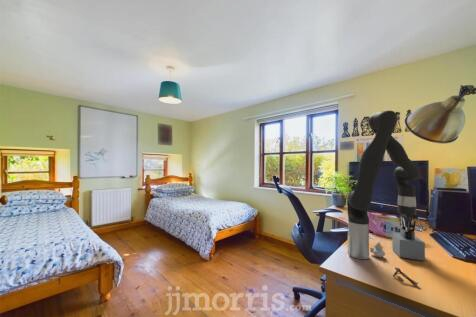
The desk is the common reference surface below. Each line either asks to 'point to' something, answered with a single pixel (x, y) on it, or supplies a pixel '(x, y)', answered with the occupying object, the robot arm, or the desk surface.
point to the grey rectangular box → (408, 246)
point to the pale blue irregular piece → (377, 250)
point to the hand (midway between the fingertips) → (406, 237)
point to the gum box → (384, 224)
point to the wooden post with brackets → (404, 276)
